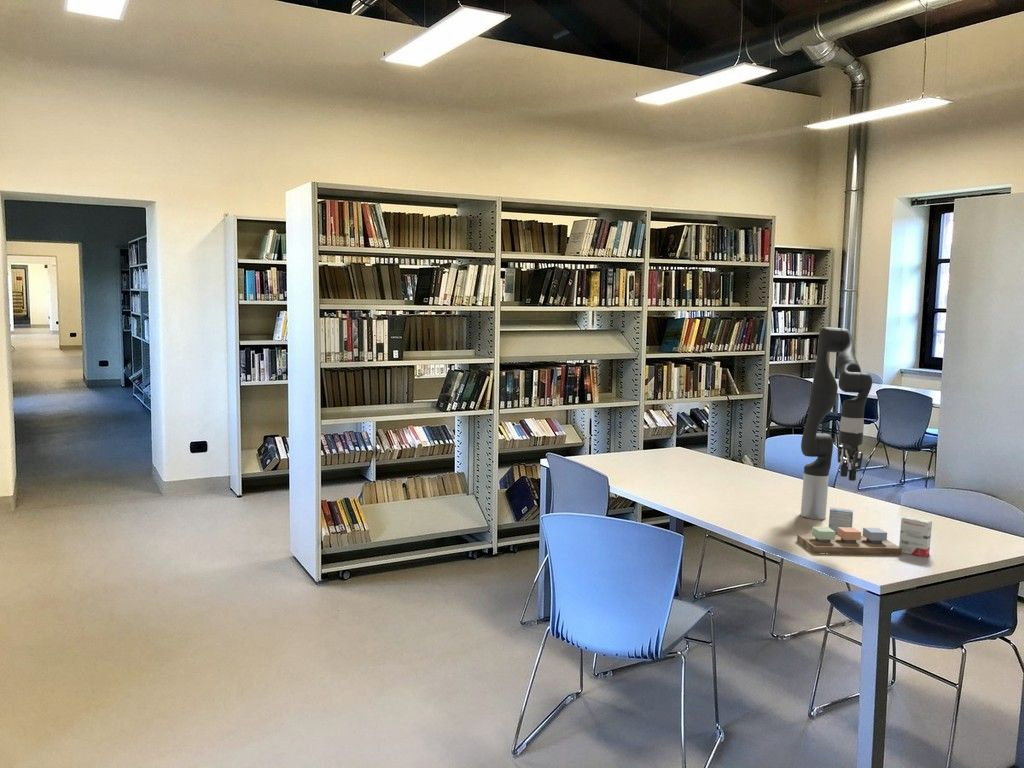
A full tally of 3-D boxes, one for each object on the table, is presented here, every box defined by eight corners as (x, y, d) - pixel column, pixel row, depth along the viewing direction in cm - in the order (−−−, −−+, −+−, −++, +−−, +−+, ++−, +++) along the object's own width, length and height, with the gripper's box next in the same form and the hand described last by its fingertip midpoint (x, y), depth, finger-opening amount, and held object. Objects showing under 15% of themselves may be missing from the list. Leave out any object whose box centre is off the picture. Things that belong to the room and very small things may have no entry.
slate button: (862, 535, 274) (863, 527, 273) (878, 535, 274) (878, 527, 274) (870, 540, 268) (871, 532, 268) (886, 540, 268) (887, 532, 268)
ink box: (929, 554, 267) (932, 520, 266) (925, 557, 263) (928, 523, 262) (902, 548, 273) (905, 515, 272) (898, 551, 269) (901, 517, 268)
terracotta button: (837, 535, 273) (837, 527, 273) (852, 535, 274) (853, 527, 273) (844, 539, 268) (845, 531, 267) (860, 540, 268) (861, 532, 268)
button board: (796, 541, 277) (797, 529, 277) (880, 542, 279) (881, 531, 278) (813, 553, 263) (814, 541, 263) (901, 555, 265) (902, 543, 264)
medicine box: (851, 532, 291) (853, 509, 290) (851, 535, 287) (853, 512, 286) (828, 529, 294) (830, 506, 293) (828, 532, 290) (829, 509, 289)
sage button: (811, 534, 273) (812, 526, 273) (827, 534, 273) (828, 526, 273) (818, 539, 267) (819, 531, 267) (834, 539, 268) (835, 531, 267)
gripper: (831, 426, 278) (827, 473, 280) (850, 433, 264) (846, 482, 265) (852, 427, 278) (848, 474, 280) (872, 433, 264) (868, 483, 266)
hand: (847, 478), depth 273 cm, fingers open, 5 cm apart
